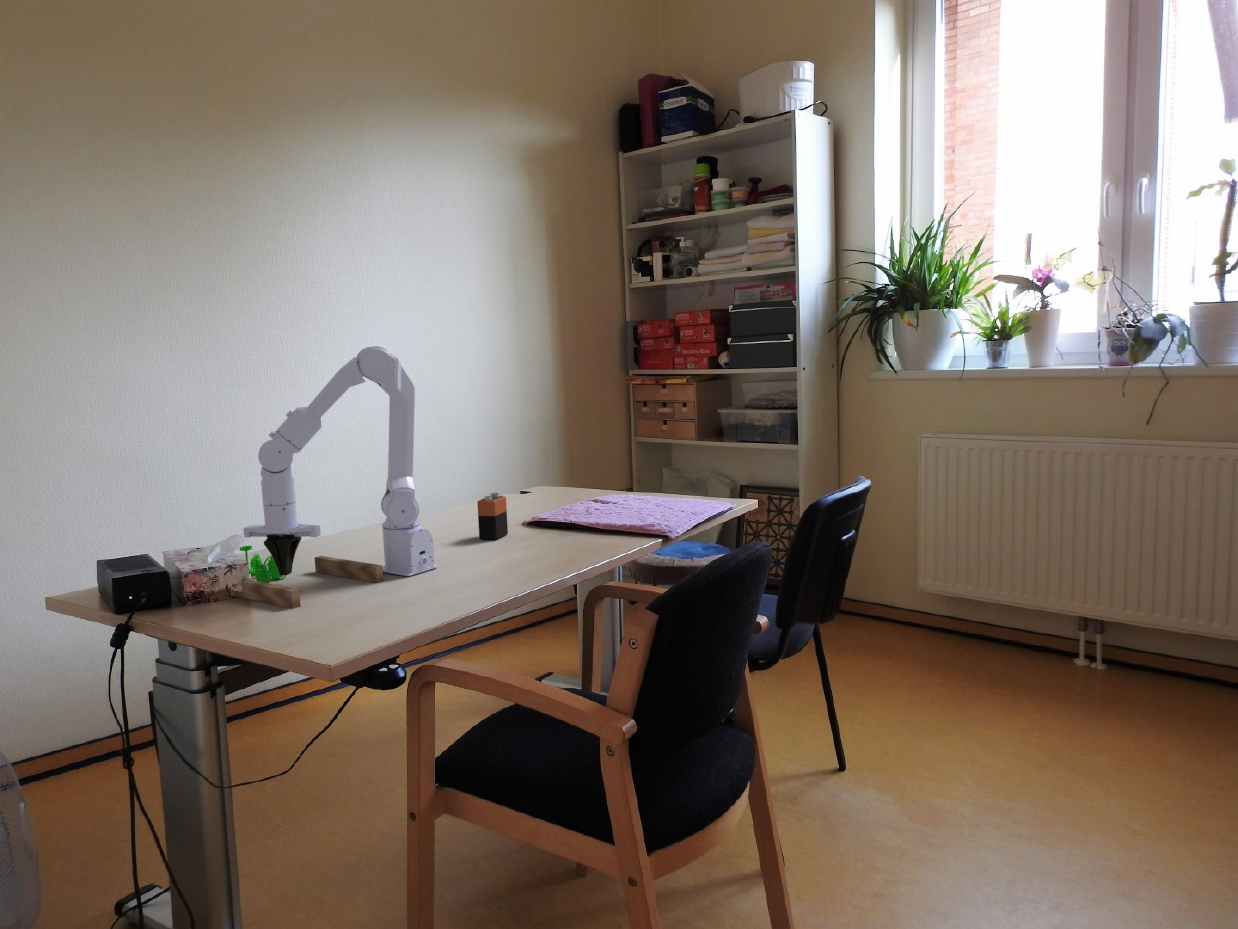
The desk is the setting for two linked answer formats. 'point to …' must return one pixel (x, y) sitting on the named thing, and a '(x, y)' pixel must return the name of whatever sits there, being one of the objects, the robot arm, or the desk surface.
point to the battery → (492, 517)
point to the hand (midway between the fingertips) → (285, 574)
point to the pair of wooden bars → (322, 565)
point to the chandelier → (262, 567)
